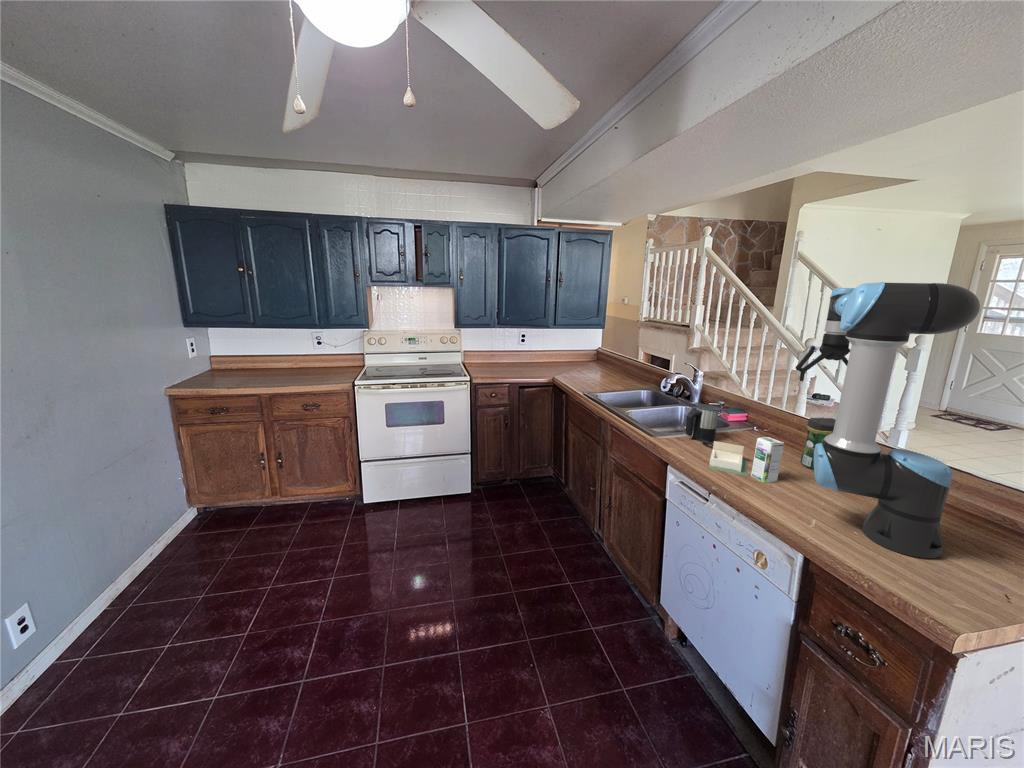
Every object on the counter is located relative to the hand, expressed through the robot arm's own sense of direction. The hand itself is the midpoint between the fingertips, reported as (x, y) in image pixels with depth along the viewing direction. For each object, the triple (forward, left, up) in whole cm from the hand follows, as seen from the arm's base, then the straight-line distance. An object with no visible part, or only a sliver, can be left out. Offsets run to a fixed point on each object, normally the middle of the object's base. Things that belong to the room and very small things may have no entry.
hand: (825, 392), depth 147 cm
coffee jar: (-2, -1, -28) cm, 28 cm away
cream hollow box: (-20, +28, -27) cm, 43 cm away
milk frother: (+2, +36, -28) cm, 45 cm away
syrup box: (-26, +16, -28) cm, 41 cm away
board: (-19, +27, -28) cm, 43 cm away
